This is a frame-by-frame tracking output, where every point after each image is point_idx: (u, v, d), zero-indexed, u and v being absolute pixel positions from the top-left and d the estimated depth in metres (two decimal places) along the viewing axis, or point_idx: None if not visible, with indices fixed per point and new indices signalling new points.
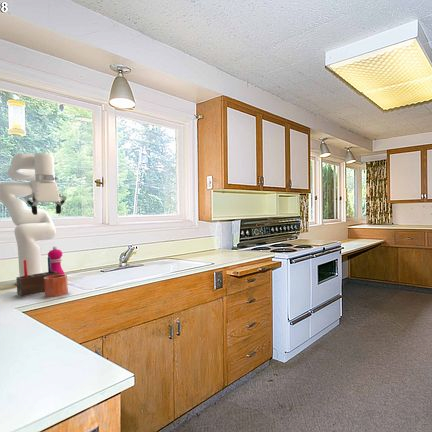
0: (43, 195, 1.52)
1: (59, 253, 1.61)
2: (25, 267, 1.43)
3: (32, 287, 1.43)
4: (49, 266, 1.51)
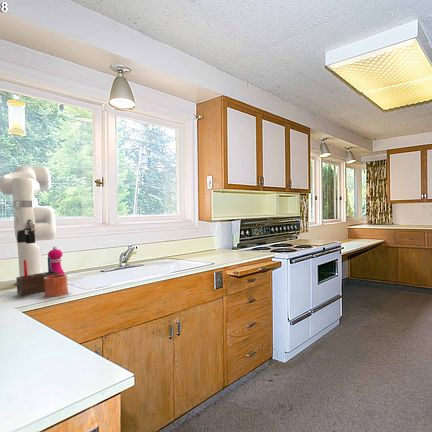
0: None
1: (59, 253, 1.61)
2: (25, 267, 1.43)
3: (32, 287, 1.43)
4: (49, 266, 1.51)
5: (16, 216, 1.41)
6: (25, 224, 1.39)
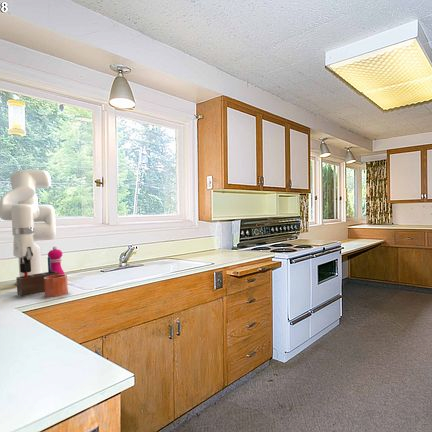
0: None
1: (59, 253, 1.61)
2: None
3: (32, 287, 1.43)
4: (49, 266, 1.51)
5: (15, 243, 1.41)
6: (24, 251, 1.39)
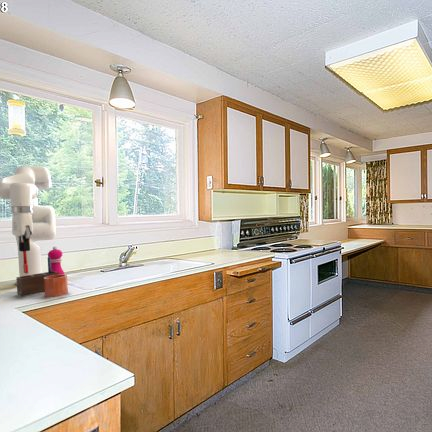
0: None
1: (59, 253, 1.61)
2: None
3: (32, 287, 1.43)
4: (49, 266, 1.51)
5: (14, 221, 1.40)
6: (23, 230, 1.39)
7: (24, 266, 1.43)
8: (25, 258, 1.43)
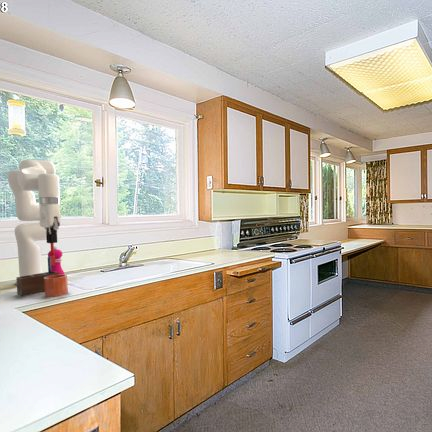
0: None
1: (59, 253, 1.61)
2: None
3: (32, 287, 1.43)
4: (49, 266, 1.51)
5: (42, 213, 1.39)
6: (51, 221, 1.37)
7: (51, 258, 1.41)
8: (52, 250, 1.41)
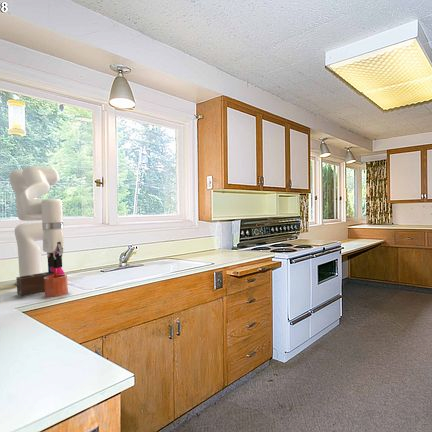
0: None
1: None
2: None
3: (32, 287, 1.43)
4: None
5: (45, 238, 1.39)
6: (55, 246, 1.37)
7: None
8: None
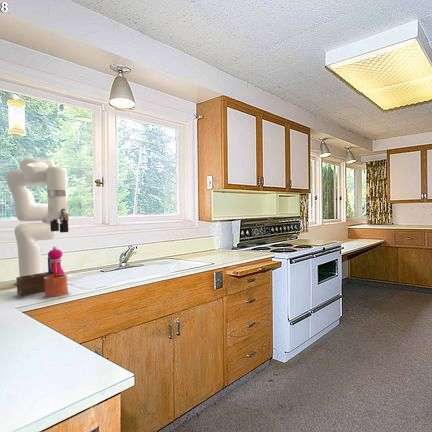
0: None
1: (59, 253, 1.61)
2: (55, 267, 1.41)
3: (32, 287, 1.43)
4: (49, 266, 1.51)
5: (50, 205, 1.42)
6: (59, 213, 1.41)
7: None
8: None
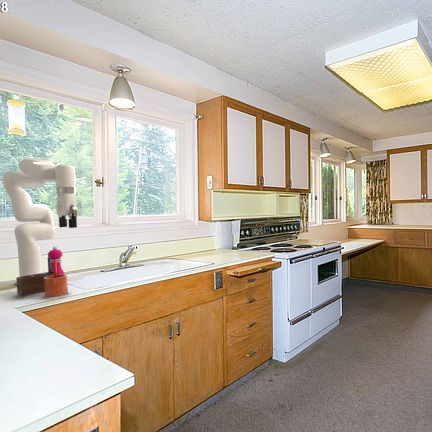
0: None
1: (59, 253, 1.61)
2: (55, 267, 1.41)
3: (32, 287, 1.43)
4: (49, 266, 1.51)
5: (59, 202, 1.48)
6: (68, 209, 1.46)
7: None
8: None
